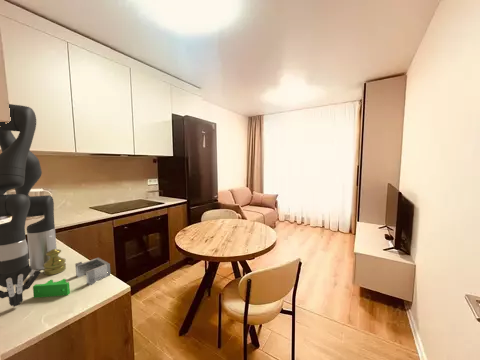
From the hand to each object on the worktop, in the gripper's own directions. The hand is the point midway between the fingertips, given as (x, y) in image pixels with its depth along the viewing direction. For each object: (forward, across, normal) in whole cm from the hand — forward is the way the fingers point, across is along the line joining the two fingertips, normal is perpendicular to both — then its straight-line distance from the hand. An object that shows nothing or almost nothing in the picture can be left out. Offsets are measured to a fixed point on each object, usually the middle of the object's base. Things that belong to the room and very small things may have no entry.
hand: (16, 304), depth 66 cm
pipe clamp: (+1, -10, +1) cm, 10 cm away
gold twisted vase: (+1, -15, -19) cm, 24 cm away
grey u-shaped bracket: (+1, -22, 0) cm, 22 cm away
